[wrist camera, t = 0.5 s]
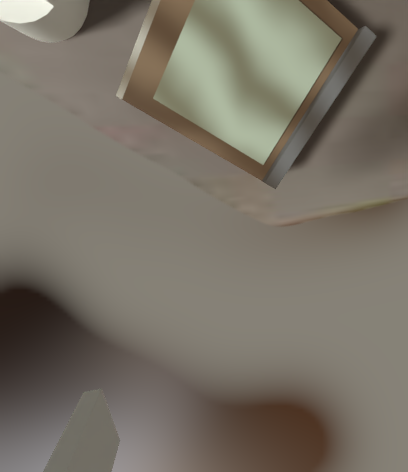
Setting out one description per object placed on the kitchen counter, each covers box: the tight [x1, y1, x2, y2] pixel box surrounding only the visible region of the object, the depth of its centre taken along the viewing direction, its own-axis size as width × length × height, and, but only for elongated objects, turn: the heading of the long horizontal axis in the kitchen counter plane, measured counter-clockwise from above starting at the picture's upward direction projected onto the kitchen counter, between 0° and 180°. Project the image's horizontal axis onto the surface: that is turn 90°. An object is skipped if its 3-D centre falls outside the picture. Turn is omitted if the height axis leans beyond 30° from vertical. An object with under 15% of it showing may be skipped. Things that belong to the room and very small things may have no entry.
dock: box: [116, 0, 377, 189], centre depth 26 cm, size 16×19×6 cm
